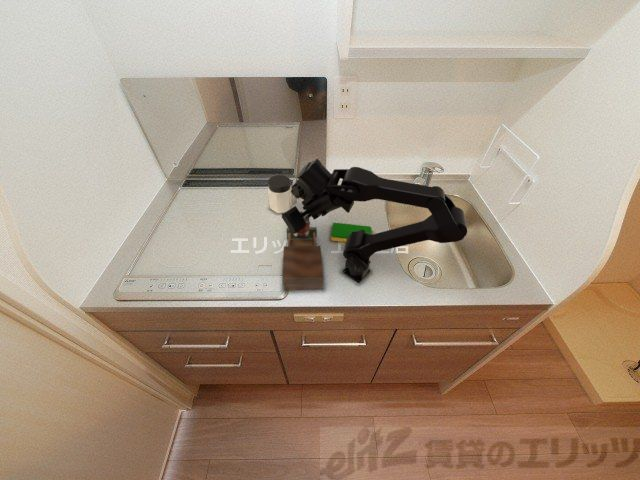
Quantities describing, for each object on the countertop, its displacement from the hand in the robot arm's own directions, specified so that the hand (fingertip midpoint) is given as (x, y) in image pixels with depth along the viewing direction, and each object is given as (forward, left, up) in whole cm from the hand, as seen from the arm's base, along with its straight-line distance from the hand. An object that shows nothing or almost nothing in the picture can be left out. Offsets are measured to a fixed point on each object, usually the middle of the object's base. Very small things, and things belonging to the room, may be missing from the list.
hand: (297, 214), depth 82 cm
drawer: (-1, -1, -13) cm, 13 cm away
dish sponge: (-11, -16, -14) cm, 24 cm away
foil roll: (-1, 0, -7) cm, 7 cm away
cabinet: (-10, +8, -14) cm, 18 cm away
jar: (+19, -10, -14) cm, 26 cm away
